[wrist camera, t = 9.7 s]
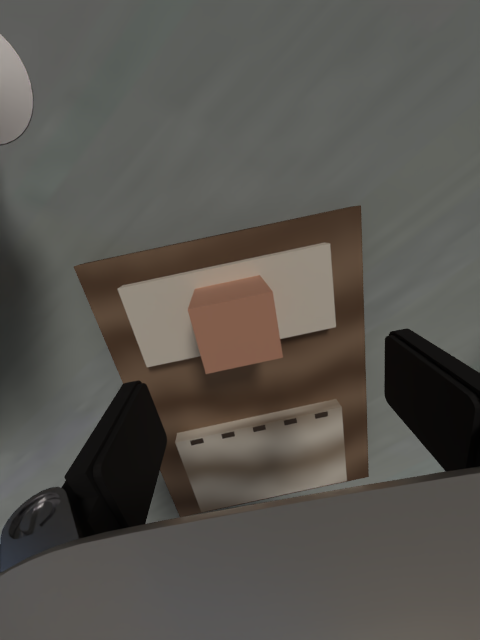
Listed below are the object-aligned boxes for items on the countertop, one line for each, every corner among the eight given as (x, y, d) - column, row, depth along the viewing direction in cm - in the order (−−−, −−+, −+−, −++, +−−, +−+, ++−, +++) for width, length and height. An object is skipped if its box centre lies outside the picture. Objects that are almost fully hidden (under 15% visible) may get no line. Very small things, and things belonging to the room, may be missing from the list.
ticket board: (83, 263, 21) (64, 269, 18) (351, 206, 21) (370, 204, 19) (181, 504, 31) (178, 529, 29) (361, 465, 32) (374, 487, 29)
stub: (122, 285, 20) (85, 310, 15) (324, 242, 20) (365, 250, 15) (150, 361, 23) (127, 407, 17) (330, 322, 23) (368, 355, 17)
